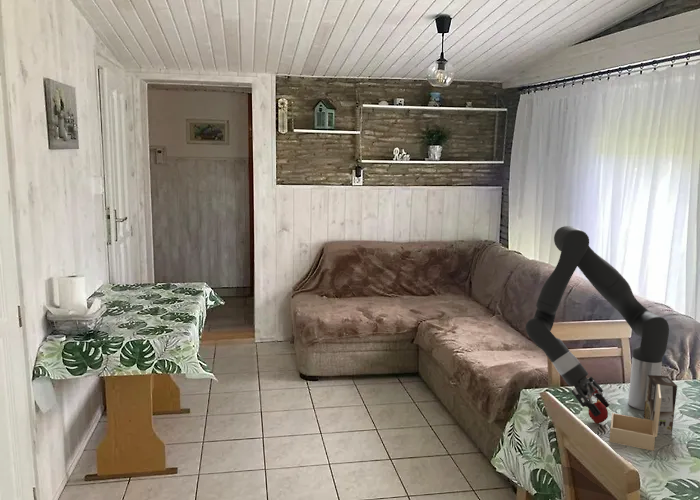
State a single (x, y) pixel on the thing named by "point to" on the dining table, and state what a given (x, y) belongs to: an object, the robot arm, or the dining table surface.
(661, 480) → the dining table surface
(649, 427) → the box
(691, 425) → the dining table surface
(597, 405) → the onion
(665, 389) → the coffee box
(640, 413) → the dining table surface
